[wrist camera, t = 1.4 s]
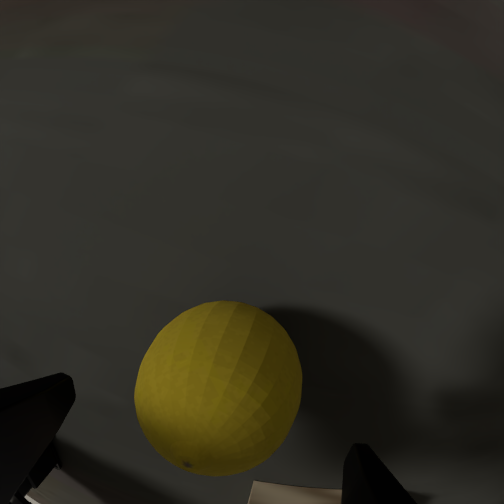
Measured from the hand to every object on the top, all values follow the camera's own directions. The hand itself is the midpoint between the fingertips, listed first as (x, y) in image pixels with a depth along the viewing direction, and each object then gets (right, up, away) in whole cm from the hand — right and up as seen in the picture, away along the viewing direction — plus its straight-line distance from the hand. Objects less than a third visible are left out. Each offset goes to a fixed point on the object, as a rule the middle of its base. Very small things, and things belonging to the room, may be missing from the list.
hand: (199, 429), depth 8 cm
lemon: (+1, +1, +6) cm, 7 cm away
